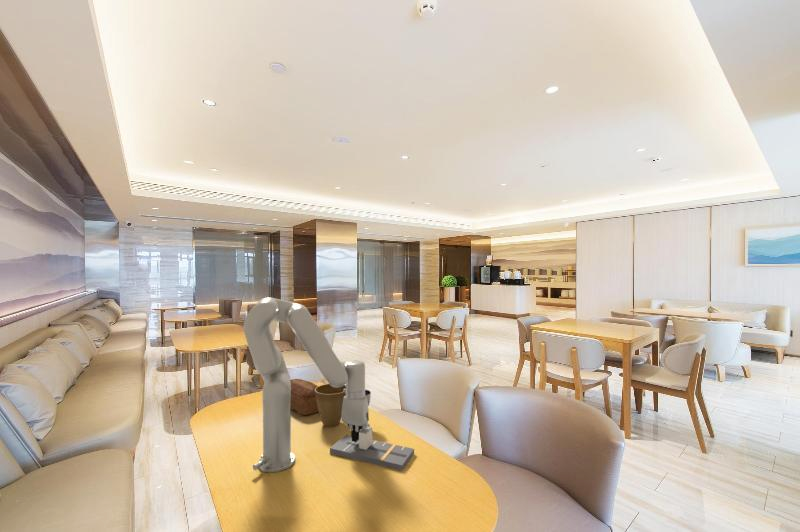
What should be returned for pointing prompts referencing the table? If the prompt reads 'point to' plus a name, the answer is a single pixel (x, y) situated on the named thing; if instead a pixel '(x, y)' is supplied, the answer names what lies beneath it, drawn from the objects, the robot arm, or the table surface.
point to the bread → (303, 397)
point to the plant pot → (330, 404)
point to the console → (374, 453)
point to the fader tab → (365, 438)
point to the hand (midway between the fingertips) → (355, 440)
